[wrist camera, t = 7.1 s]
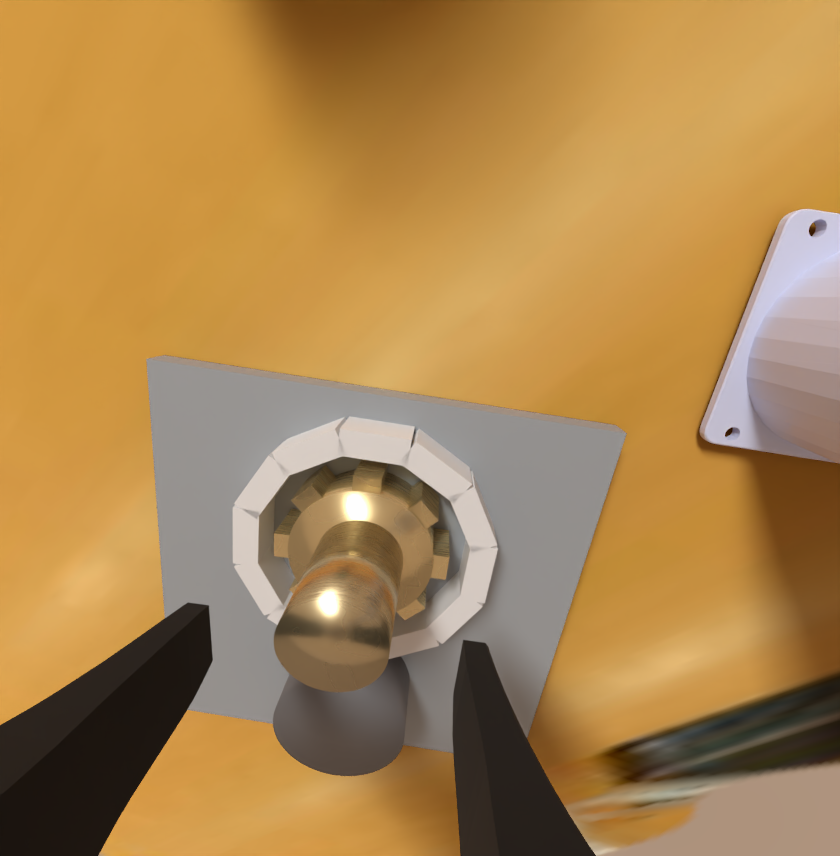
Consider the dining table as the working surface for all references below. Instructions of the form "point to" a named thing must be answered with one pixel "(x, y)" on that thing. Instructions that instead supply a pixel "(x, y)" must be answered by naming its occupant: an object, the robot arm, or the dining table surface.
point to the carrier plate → (458, 512)
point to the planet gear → (354, 572)
